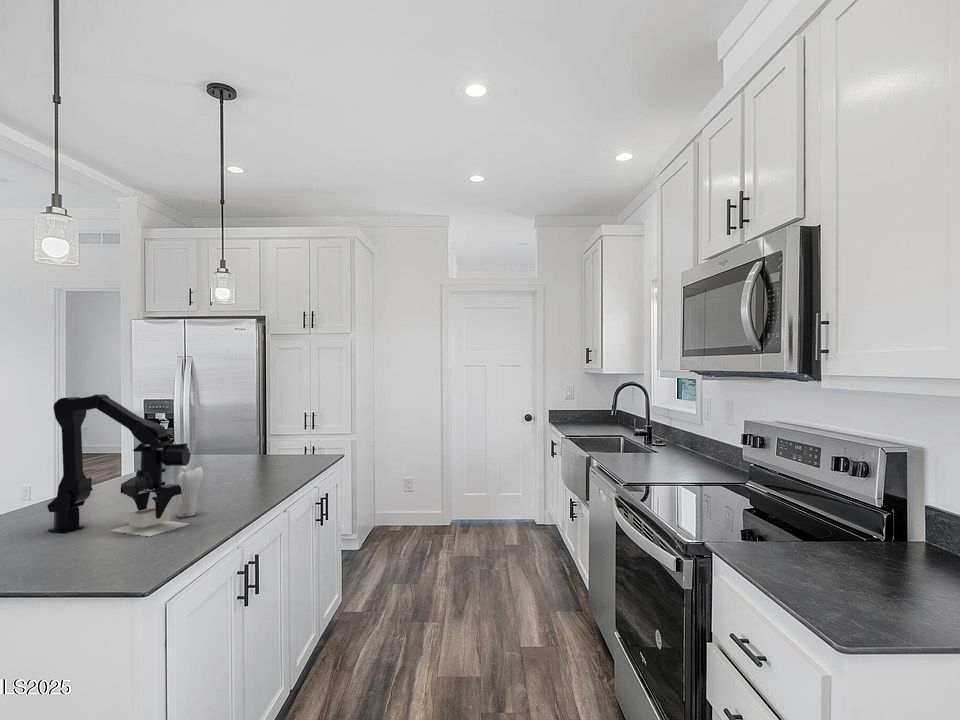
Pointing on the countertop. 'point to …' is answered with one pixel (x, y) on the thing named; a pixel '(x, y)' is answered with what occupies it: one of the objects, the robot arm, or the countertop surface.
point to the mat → (150, 528)
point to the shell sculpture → (187, 489)
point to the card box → (148, 517)
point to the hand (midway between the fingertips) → (150, 517)
